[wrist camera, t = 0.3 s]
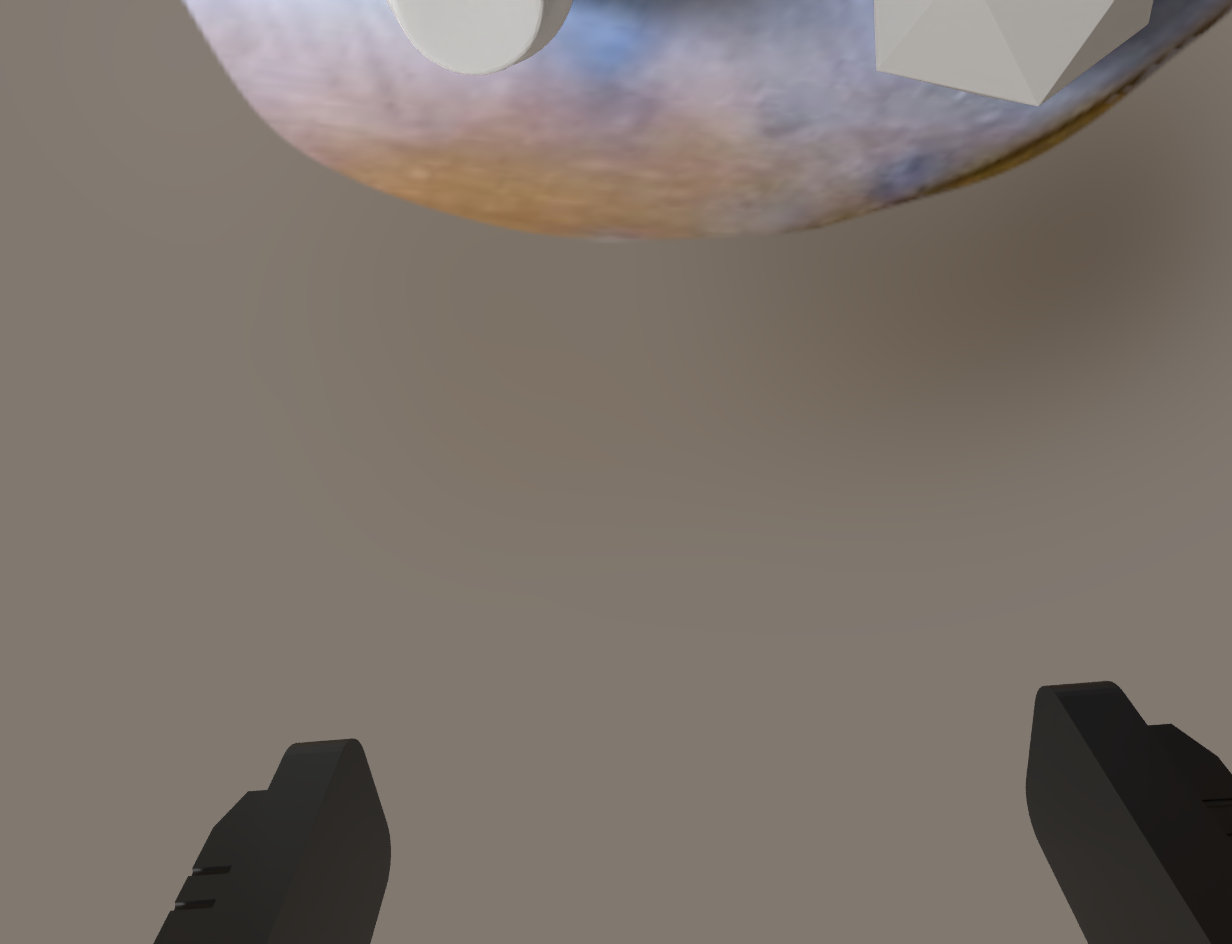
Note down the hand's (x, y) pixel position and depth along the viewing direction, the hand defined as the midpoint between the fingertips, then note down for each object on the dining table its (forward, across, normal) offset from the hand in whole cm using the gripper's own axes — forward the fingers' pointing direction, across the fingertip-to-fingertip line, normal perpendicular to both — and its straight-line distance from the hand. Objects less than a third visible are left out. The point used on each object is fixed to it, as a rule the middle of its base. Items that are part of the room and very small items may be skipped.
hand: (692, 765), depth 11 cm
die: (+29, -12, -10) cm, 33 cm away
